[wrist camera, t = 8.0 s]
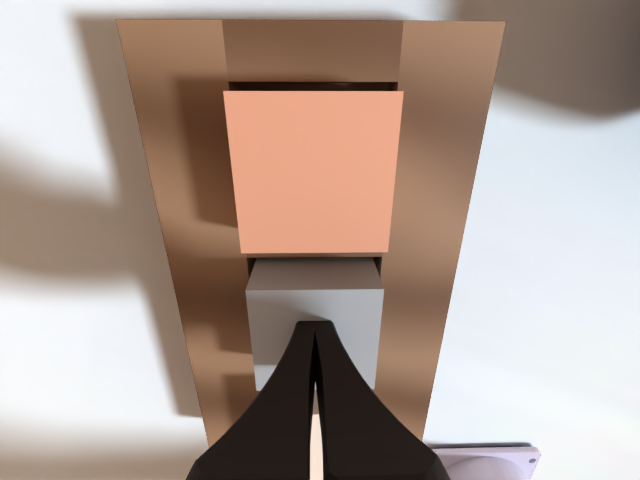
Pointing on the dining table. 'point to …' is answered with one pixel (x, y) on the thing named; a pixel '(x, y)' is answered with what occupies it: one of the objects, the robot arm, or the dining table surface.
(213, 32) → the key block
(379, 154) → the terracotta key
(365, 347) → the slate key
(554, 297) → the dining table surface
